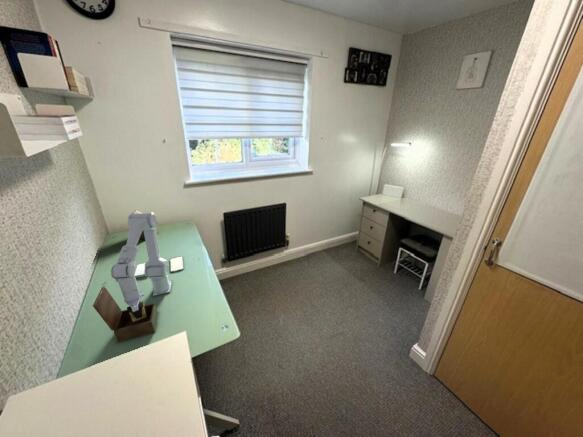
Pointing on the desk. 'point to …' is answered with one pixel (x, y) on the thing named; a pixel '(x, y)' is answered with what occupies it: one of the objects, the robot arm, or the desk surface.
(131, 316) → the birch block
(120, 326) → the keepsake box
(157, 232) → the owl
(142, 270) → the hard drive
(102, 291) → the box lid
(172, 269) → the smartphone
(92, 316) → the desk surface
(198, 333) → the desk surface
